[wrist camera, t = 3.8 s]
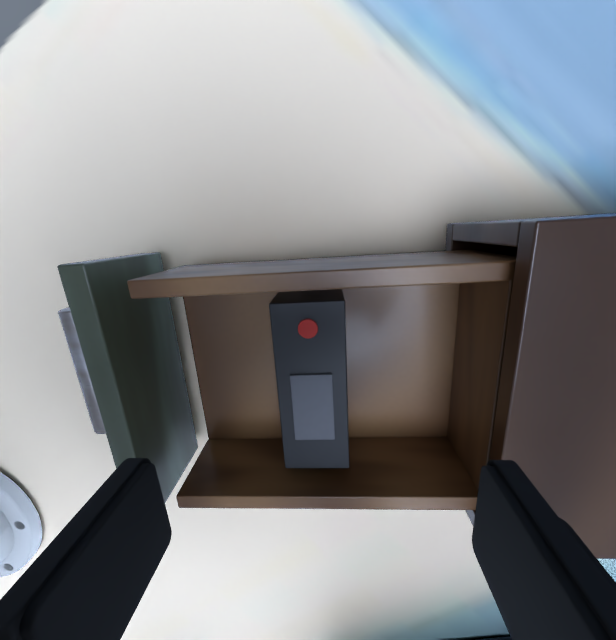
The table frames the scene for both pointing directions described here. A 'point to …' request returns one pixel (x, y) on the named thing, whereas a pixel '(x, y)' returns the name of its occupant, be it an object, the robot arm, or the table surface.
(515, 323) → the cabinet
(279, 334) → the remote
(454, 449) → the drawer
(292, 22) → the table surface
